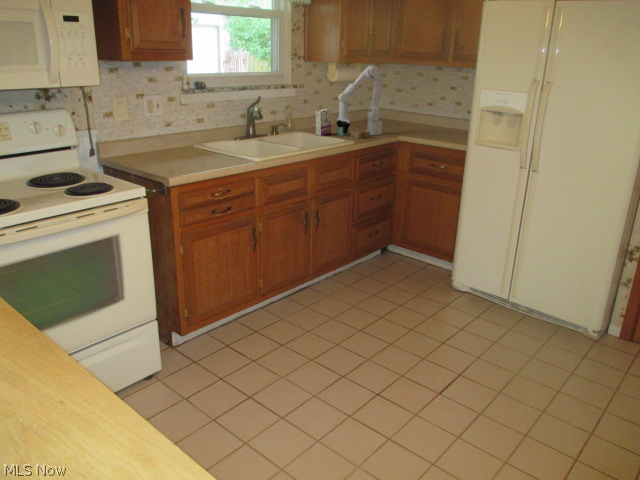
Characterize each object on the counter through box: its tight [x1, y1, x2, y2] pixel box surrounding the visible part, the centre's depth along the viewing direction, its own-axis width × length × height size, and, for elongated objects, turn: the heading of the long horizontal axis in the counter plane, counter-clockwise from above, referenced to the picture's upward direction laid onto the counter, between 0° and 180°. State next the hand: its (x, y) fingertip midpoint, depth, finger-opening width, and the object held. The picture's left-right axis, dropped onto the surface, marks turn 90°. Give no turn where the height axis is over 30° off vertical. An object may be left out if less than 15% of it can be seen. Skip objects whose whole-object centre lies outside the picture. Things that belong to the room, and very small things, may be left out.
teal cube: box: [337, 126, 349, 137], centre depth 356 cm, size 5×5×5 cm
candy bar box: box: [315, 108, 332, 136], centre depth 353 cm, size 11×5×16 cm, turn 143°
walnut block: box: [349, 129, 371, 140], centre depth 348 cm, size 9×9×4 cm
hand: (343, 132), depth 356 cm, fingers closed on teal cube, 5 cm apart
